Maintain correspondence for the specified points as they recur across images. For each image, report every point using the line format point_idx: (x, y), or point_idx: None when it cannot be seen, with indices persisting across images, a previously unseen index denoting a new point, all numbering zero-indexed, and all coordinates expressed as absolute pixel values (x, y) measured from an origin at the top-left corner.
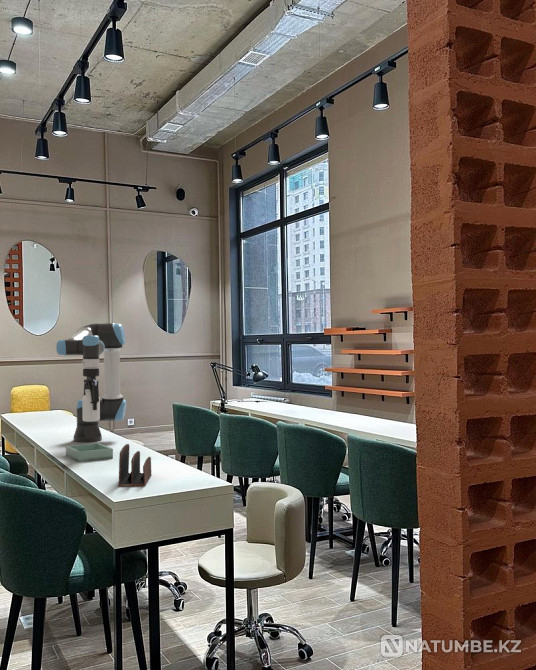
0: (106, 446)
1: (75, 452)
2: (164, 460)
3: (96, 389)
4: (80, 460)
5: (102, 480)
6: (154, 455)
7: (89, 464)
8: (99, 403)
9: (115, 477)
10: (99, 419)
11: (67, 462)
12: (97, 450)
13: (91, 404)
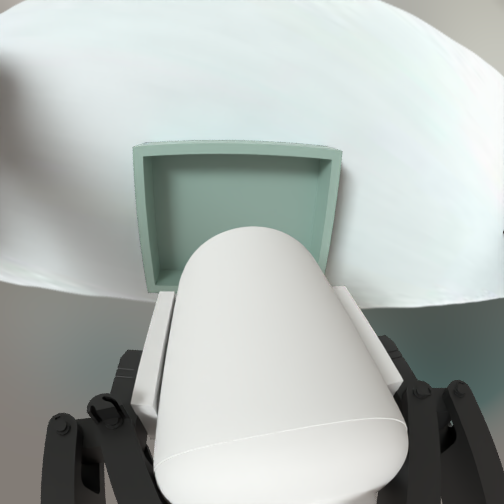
0: (260, 146)
1: None
2: (447, 52)
3: (492, 500)
4: None
5: (491, 279)
6: (359, 6)
7: (369, 255)
8: (354, 343)
9: (495, 254)
10: (293, 238)
11: None
12: (333, 220)
13: None
